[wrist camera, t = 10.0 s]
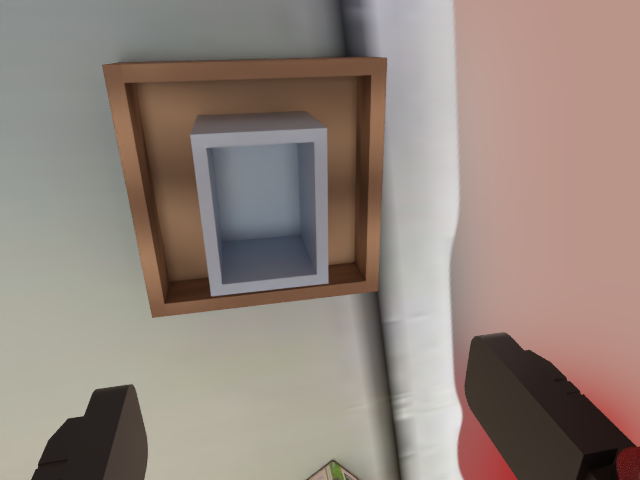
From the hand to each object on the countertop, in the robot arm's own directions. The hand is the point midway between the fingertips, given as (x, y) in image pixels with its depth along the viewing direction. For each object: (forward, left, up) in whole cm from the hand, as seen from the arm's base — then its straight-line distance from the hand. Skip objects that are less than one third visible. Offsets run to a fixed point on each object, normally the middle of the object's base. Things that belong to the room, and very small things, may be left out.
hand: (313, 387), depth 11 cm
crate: (0, 0, -19) cm, 19 cm away
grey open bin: (0, 0, -18) cm, 18 cm away
